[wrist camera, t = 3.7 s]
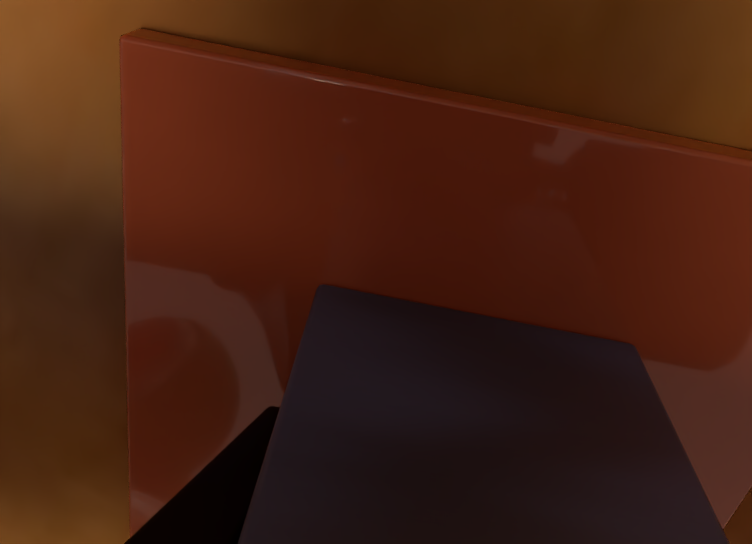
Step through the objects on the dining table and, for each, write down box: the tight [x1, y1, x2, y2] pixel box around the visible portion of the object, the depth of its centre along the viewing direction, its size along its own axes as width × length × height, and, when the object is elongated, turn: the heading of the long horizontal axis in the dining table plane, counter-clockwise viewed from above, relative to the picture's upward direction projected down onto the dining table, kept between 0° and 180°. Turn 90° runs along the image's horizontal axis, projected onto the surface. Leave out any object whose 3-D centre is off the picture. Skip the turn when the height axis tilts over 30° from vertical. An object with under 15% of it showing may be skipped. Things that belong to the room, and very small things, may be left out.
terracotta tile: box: [120, 29, 752, 537], centre depth 10 cm, size 10×10×1 cm
